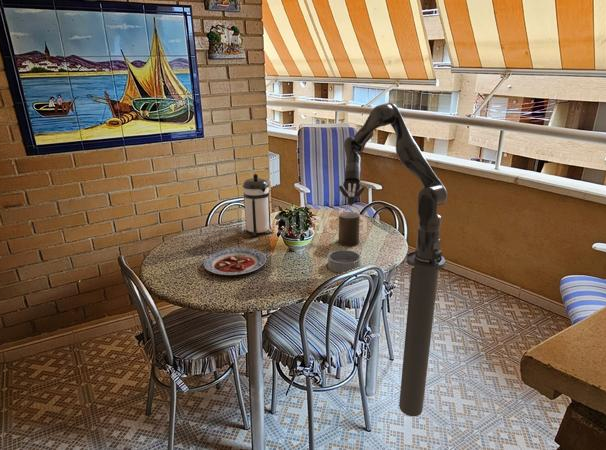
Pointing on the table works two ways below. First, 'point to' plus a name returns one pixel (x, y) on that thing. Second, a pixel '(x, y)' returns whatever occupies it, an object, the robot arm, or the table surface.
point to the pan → (343, 260)
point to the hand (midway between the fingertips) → (350, 204)
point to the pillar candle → (349, 228)
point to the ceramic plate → (234, 261)
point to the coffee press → (257, 205)
